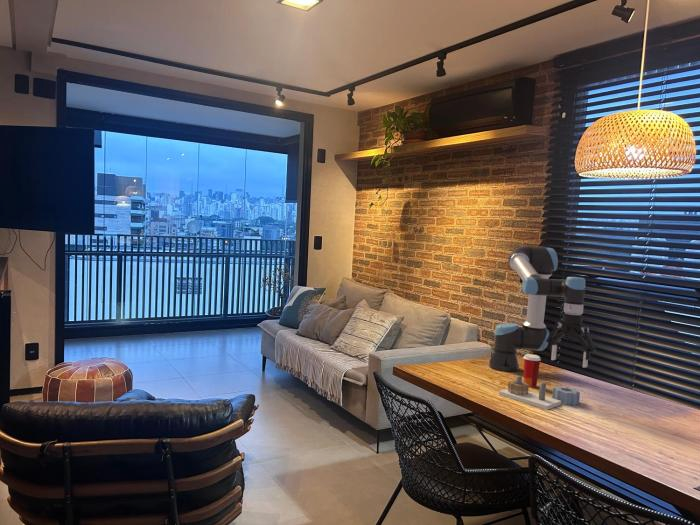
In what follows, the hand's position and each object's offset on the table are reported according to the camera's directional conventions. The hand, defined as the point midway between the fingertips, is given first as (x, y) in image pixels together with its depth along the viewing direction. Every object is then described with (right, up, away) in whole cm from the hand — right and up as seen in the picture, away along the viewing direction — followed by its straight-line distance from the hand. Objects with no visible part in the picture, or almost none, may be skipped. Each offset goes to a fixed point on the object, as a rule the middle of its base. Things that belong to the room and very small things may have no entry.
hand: (568, 363), depth 216 cm
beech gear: (-20, -13, +5) cm, 25 cm away
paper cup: (-9, -15, +22) cm, 28 cm away
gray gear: (-1, -16, +1) cm, 16 cm away
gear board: (-16, -15, +1) cm, 23 cm away
